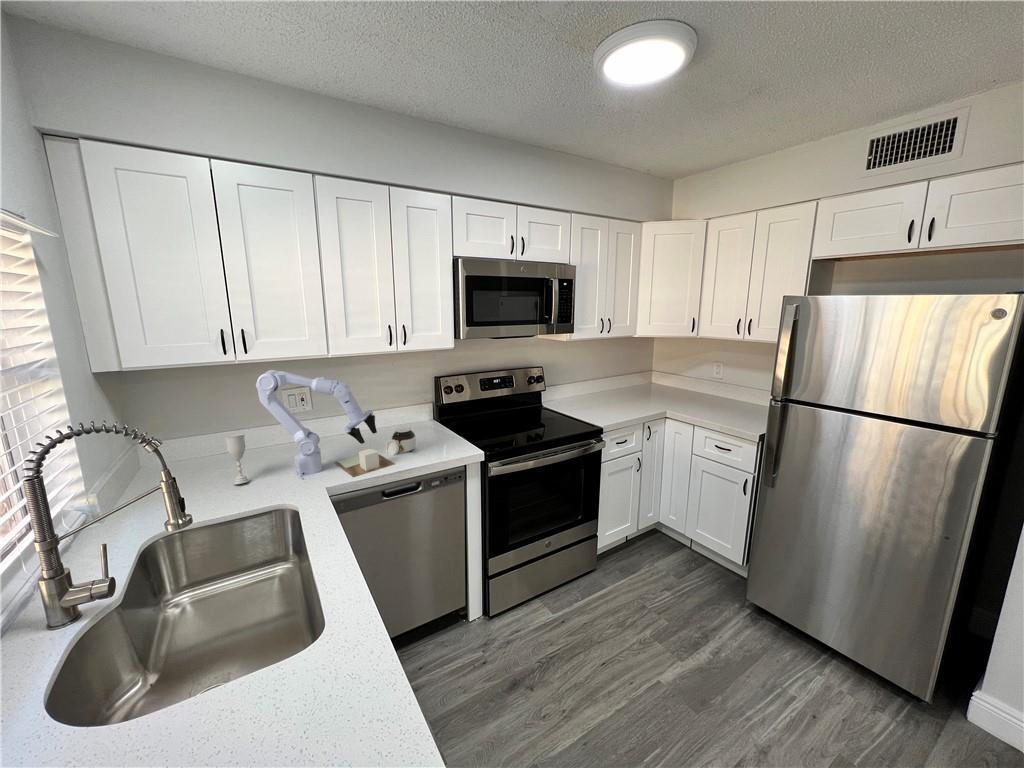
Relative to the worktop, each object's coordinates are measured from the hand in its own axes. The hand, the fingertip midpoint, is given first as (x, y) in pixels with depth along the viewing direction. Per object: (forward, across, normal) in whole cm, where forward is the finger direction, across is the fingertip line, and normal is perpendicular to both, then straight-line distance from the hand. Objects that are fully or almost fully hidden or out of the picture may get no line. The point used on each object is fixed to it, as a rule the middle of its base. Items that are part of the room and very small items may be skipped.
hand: (368, 437), depth 171 cm
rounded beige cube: (+10, -6, +1) cm, 12 cm away
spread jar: (+16, +13, +2) cm, 21 cm away
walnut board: (+10, -4, +6) cm, 13 cm away
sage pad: (+8, -4, +11) cm, 14 cm away
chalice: (-7, -34, +34) cm, 48 cm away
